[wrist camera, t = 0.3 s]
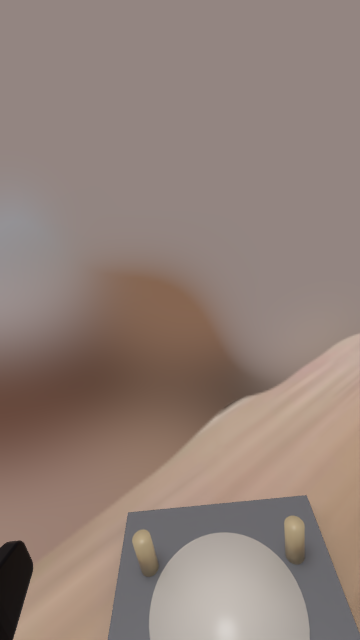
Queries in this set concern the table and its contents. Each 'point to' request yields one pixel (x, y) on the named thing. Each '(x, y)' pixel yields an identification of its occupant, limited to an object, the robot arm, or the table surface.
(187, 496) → the table surface
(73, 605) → the table surface
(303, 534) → the pin cradle
